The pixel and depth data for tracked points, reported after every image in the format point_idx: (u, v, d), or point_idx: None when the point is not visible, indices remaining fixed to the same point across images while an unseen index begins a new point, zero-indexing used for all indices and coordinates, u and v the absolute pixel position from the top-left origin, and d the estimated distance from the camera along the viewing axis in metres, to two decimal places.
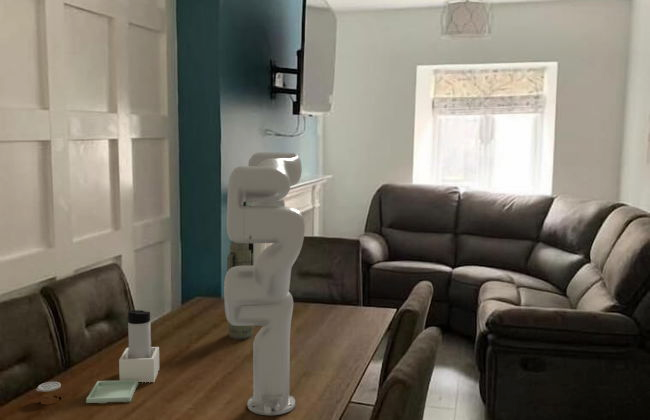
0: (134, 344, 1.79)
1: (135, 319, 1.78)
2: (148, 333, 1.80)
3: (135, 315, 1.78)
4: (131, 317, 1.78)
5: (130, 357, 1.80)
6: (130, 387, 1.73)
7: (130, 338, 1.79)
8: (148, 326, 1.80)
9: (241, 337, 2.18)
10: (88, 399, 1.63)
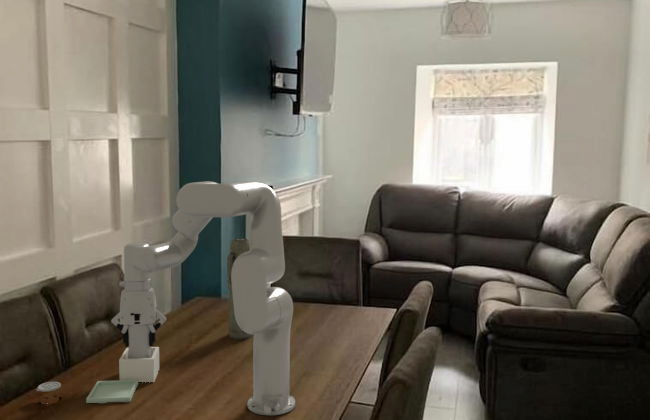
0: (134, 344, 1.79)
1: (135, 319, 1.78)
2: (148, 333, 1.80)
3: (135, 315, 1.78)
4: None
5: (130, 357, 1.80)
6: (130, 387, 1.73)
7: (130, 338, 1.79)
8: (148, 326, 1.80)
9: (241, 337, 2.18)
10: (88, 399, 1.63)
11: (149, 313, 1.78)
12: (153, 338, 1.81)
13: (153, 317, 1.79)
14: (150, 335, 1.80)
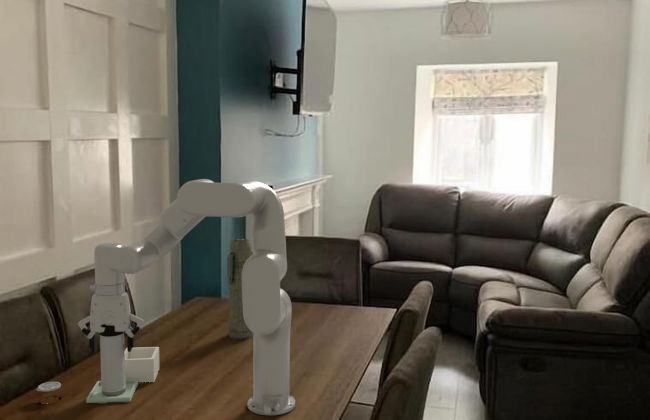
0: (106, 358, 1.65)
1: (107, 331, 1.64)
2: (121, 346, 1.67)
3: (107, 327, 1.64)
4: None
5: (102, 372, 1.67)
6: (130, 387, 1.73)
7: (102, 351, 1.66)
8: (121, 339, 1.67)
9: (241, 337, 2.18)
10: (88, 399, 1.63)
11: (122, 319, 1.65)
12: (131, 343, 1.68)
13: (126, 323, 1.65)
14: (127, 340, 1.67)
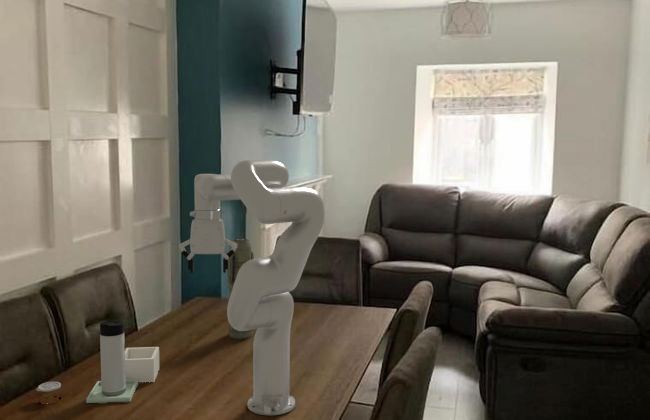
0: (106, 358, 1.66)
1: (107, 331, 1.65)
2: (121, 346, 1.67)
3: (107, 327, 1.65)
4: (103, 329, 1.65)
5: (102, 372, 1.67)
6: (130, 387, 1.73)
7: (102, 351, 1.66)
8: (121, 339, 1.67)
9: (241, 337, 2.18)
10: (88, 399, 1.63)
11: (219, 242, 1.82)
12: (226, 265, 1.85)
13: (223, 246, 1.82)
14: (223, 262, 1.84)
